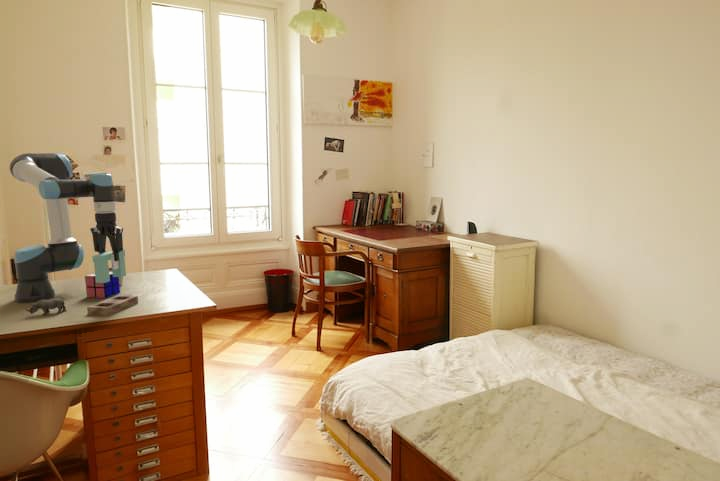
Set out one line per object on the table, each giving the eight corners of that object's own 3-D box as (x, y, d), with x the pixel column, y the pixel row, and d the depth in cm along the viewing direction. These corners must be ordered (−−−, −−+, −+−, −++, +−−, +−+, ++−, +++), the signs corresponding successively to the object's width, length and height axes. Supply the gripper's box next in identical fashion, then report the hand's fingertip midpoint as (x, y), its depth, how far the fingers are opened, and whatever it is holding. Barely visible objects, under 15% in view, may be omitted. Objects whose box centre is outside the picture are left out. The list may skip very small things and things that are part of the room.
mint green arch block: (95, 282, 194) (92, 255, 192) (118, 275, 208) (116, 249, 206) (103, 283, 193) (101, 256, 192) (126, 275, 207) (124, 249, 205)
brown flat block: (87, 314, 195) (87, 307, 194) (117, 301, 212) (117, 295, 212) (109, 315, 193) (109, 308, 193) (138, 302, 210) (137, 296, 210)
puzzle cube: (105, 298, 218) (103, 276, 216) (86, 297, 220) (84, 276, 218) (120, 292, 228) (118, 271, 226) (102, 291, 230) (100, 271, 228)
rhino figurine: (27, 314, 195) (25, 300, 194) (66, 310, 201) (65, 296, 200) (25, 317, 191) (23, 303, 190) (65, 312, 197) (64, 298, 196)
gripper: (79, 213, 194) (85, 270, 198) (117, 213, 191) (123, 271, 195) (93, 211, 201) (98, 266, 205) (129, 211, 198) (134, 267, 202)
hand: (110, 268), depth 200 cm, fingers closed on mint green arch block, 4 cm apart
